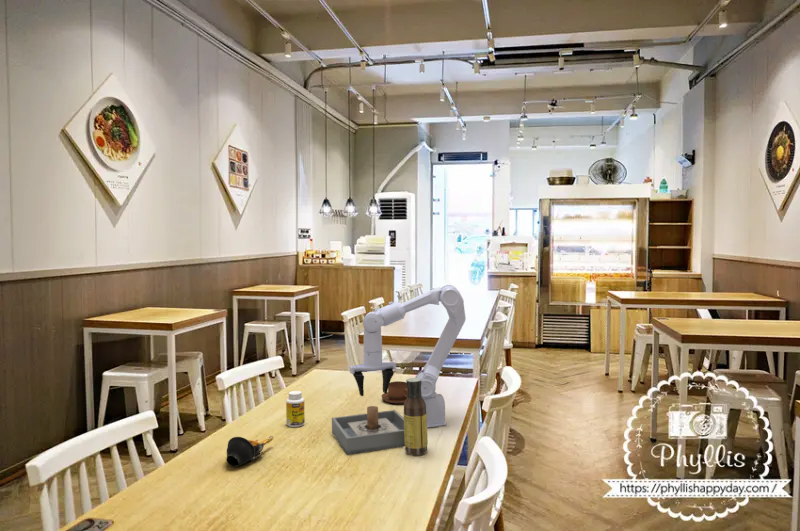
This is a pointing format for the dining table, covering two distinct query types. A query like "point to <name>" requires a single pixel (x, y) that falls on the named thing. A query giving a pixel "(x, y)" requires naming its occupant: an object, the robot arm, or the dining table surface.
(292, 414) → the supplement bottle
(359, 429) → the bored plate
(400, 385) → the cup and saucer
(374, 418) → the peg
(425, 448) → the sauce bottle
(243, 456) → the fried shrimp in bowl
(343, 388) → the dining table surface
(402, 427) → the open box
